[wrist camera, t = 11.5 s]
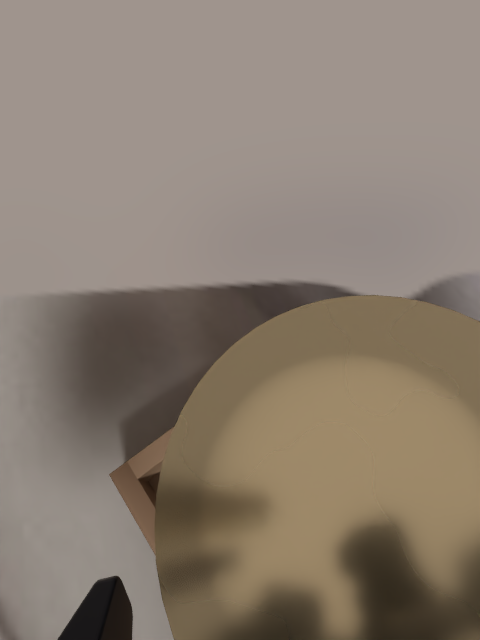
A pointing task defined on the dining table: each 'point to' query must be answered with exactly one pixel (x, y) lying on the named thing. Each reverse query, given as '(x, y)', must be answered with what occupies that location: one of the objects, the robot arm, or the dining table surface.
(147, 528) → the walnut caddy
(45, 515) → the dining table surface
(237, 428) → the tea tin
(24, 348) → the dining table surface
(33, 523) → the dining table surface
